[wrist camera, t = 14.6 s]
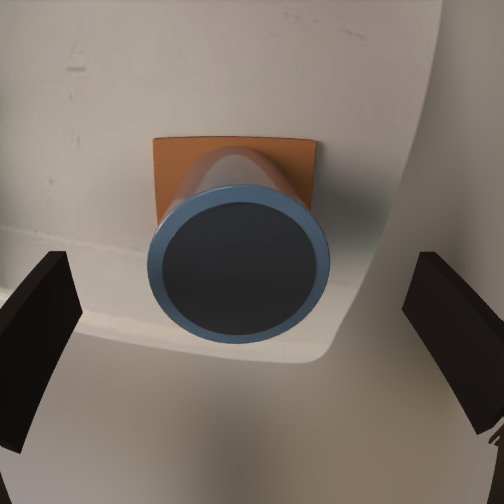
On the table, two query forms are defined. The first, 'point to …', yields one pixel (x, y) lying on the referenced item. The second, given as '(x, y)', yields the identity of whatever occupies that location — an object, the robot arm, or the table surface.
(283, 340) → the table surface
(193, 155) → the coaster
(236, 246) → the cup
